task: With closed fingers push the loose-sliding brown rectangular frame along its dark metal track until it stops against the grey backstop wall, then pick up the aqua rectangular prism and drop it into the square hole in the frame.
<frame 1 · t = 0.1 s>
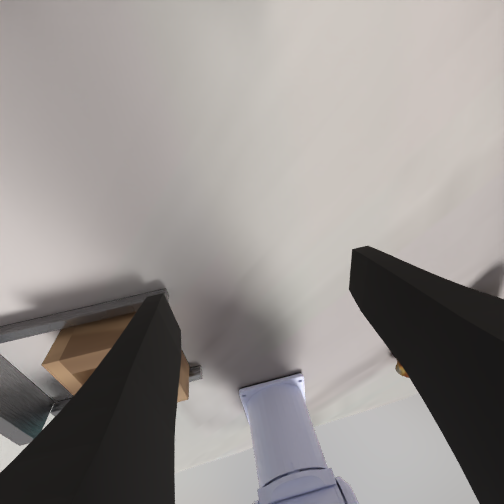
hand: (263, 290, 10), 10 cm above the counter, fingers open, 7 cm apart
backstop: (14, 376, 23), on the counter
brown rectangular frame: (129, 365, 23), point 2 cm above the counter, slide at 0.0 cm
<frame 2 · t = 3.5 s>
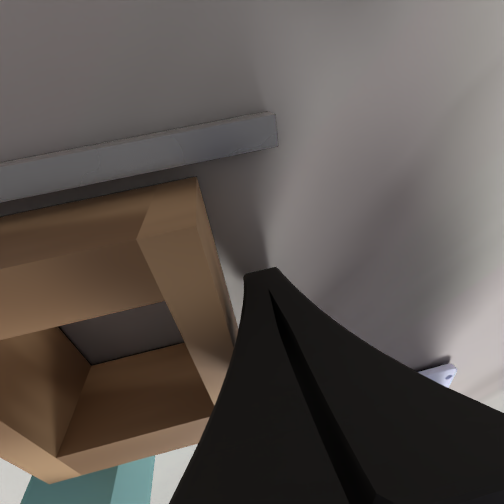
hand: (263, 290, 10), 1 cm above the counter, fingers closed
aqua rectangular prism: (110, 428, 15), on the counter
brown rectangular frame: (116, 343, 9), point 2 cm above the counter, slide at 1.5 cm, touching gripper
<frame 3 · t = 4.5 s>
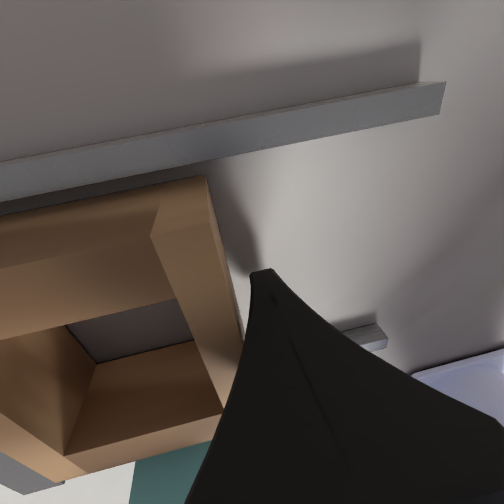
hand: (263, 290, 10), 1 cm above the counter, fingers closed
aqua rectangular prism: (192, 406, 15), on the counter
backstop: (12, 333, 10), on the counter
brown rectangular frame: (123, 342, 9), point 2 cm above the counter, slide at 6.0 cm, touching backstop, gripper
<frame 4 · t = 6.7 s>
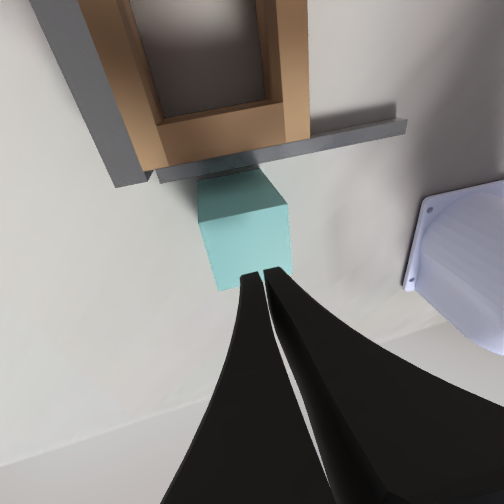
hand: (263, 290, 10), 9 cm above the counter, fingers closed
aqua rectangular prism: (234, 204, 17), on the counter
backstop: (104, 60, 12), on the counter
brown rectangular frame: (203, 37, 11), point 2 cm above the counter, slide at 6.0 cm, touching backstop
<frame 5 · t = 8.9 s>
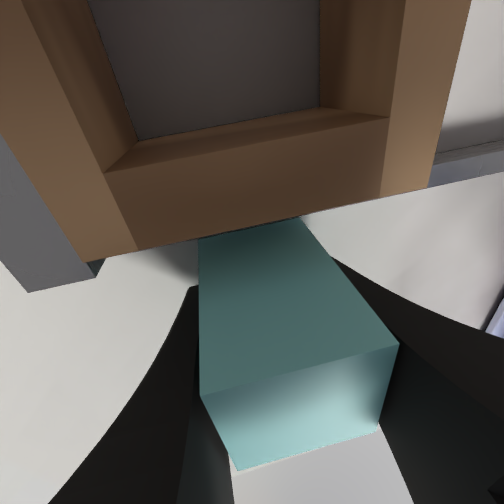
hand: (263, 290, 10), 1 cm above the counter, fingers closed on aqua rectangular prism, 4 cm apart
aqua rectangular prism: (256, 268, 11), on the counter, touching gripper
backstop: (8, 29, 6), on the counter
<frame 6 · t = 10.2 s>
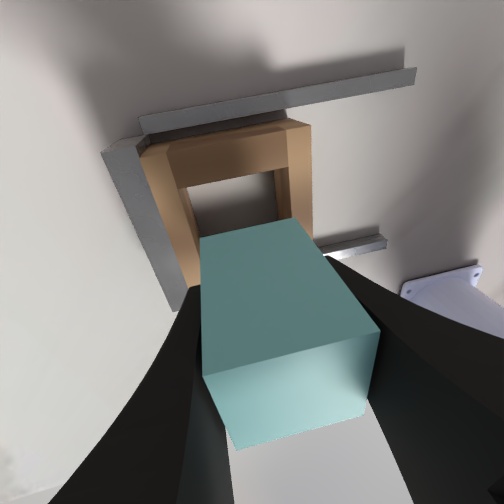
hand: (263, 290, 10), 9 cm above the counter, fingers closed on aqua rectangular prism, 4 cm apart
aqua rectangular prism: (254, 266, 12), point 7 cm above the counter, touching gripper
backstop: (164, 218, 17), on the counter
brown rectangular frame: (238, 214, 16), point 2 cm above the counter, slide at 6.0 cm, touching backstop
when the fingers open (4 cm above the counter, at t = 11.5 s): aqua rectangular prism drops 2 cm, resting in brown rectangular frame.
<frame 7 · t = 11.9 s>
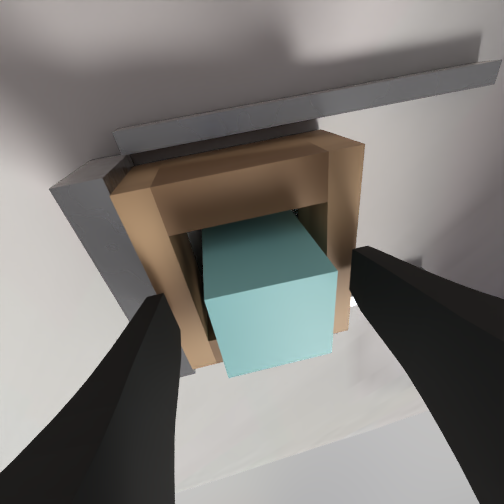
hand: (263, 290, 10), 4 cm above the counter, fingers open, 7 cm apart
aqua rectangular prism: (247, 241, 14), resting in brown rectangular frame
backstop: (154, 257, 13), on the counter
brown rectangular frame: (252, 257, 12), point 2 cm above the counter, slide at 6.0 cm, touching backstop
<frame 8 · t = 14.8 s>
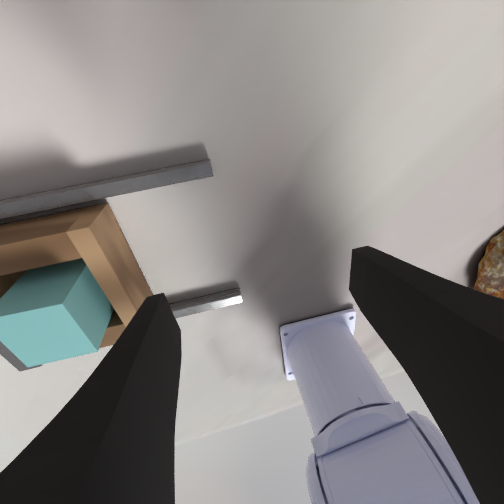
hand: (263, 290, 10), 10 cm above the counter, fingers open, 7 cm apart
aqua rectangular prism: (83, 272, 19), resting in brown rectangular frame
backstop: (13, 285, 19), on the counter
brown rectangular frame: (70, 286, 17), point 2 cm above the counter, slide at 6.0 cm, touching backstop
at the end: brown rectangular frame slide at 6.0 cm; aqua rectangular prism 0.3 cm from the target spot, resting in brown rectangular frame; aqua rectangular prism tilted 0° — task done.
